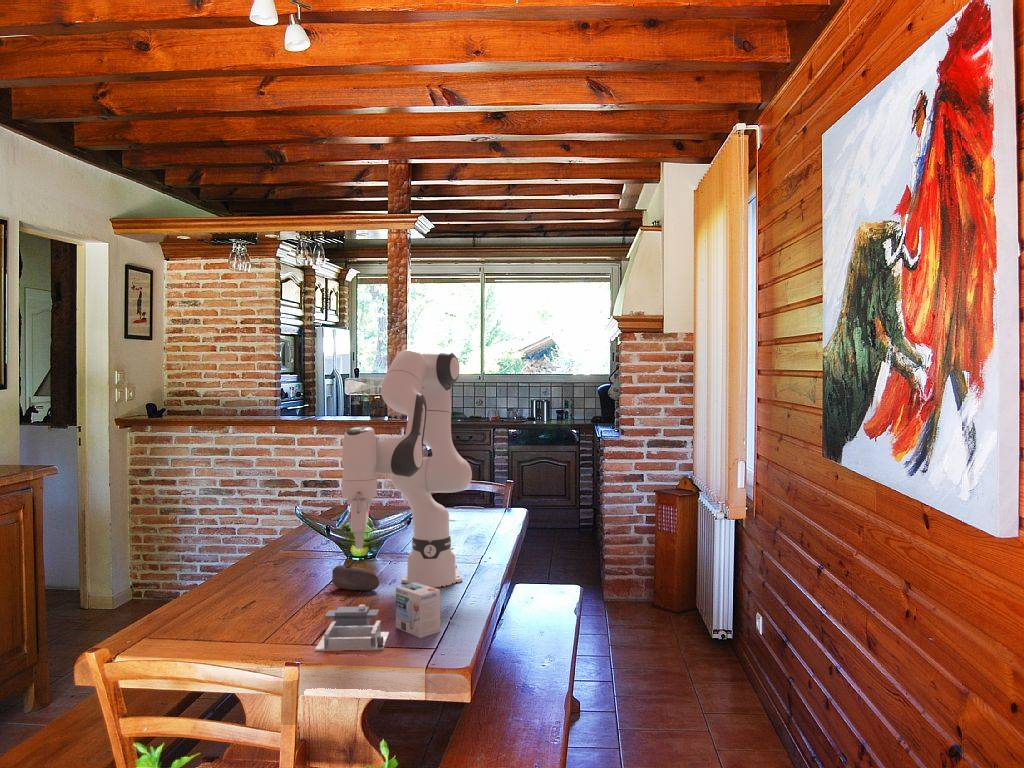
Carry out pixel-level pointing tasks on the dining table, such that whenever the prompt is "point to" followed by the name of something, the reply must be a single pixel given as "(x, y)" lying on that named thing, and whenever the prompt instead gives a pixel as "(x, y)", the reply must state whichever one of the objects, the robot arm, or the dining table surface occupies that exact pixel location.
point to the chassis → (353, 638)
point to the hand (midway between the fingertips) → (360, 544)
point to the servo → (352, 615)
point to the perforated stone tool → (354, 578)
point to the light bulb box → (418, 609)
